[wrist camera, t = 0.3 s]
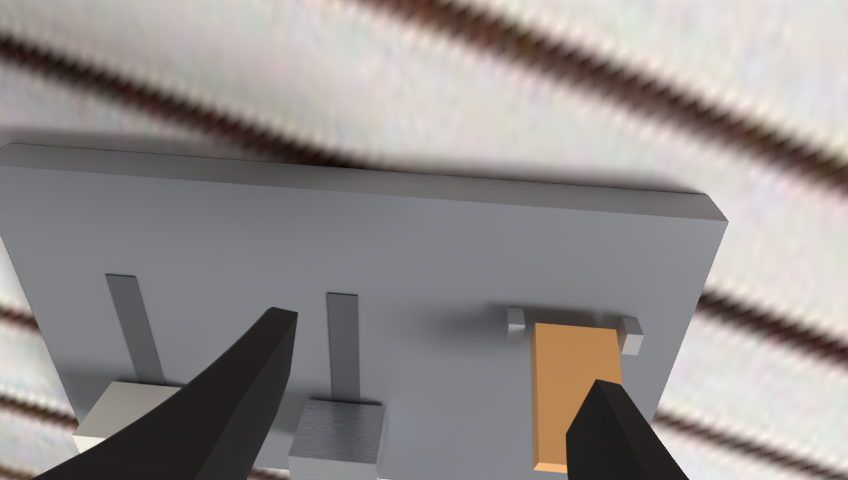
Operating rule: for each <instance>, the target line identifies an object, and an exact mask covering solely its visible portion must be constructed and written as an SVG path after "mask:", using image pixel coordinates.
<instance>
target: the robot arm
mask: <svg viewBox="0 0 848 480" xmlns="http://www.w3.org/2000/svg"><path fill="white" fill-rule="evenodd" d="M297 319H298V312H295V311H290V310H286V309H281V308H277V307H271V308H269V309H267V310H266V311H265V312H264V314H263V315H262V316H261V317H260V318H259V319H258V320H257V321H256V322H255V323H254V324H253V325H252V326H251V327H250V328H249V329H248V330H247V331H246V332H245V333H244V334H243V335H242V336H241V337H240V338H239V339H238V340H237V341H236V342H235V343H234V344H233V345H232V346H231V347H230V348H229V349H227V350H226V351H225V352H224V353H223V354H222V355H221V356H220V357H219V358H217V359H216V360H215V361H214V362H213V363H212V364H211V365H210V366H208V367H207V368H206V369H205V370H203V371H202V372H201V373H200V374H199V375H197V376H196V377H195V378H194V379H192V380H191V381H190V382H189V383H187V384H186V385H185V386H184V387H182V388H181V389H180V390H179V391H177V392H176V393H175V394H173V395H172V396H170V397H169V398H168V399H166V400H165V401H164V402H162V403H161V404H159V405H158V406H157V407H155V408H154V409H152V410H151V411H149V412H148V413H146V414H145V415H143V416H142V417H140V418H139V419H137V420H136V421H134V422H133V423H131V424H129V425H128V426H126V427H125V428H123V429H121V430H120V431H118V432H117V433H115V434H113V435H112V436H110V437H109V438H107V439H105V440H104V441H102V442H100V443H98V444H97V445H95V446H93V447H91V448H90V449H88V450H86V451H84V452H82V453H80V454H78V455H77V456H75V457H73V458H71V459H69V460H67V461H65V462H63V463H61V464H60V465H58V466H56V467H54V468H52V469H50V470H48V471H46V472H44V473H43V474H40V475H38V476H36V477H34V478H32V479H30V480H246V479H247V477H248V475H249V473H250V471H251V469H252V467H253V464H254V462H255V460H256V458H257V456H258V454H259V452H260V449H261V447H262V445H263V443H264V441H265V439H266V436H267V434H268V432H269V430H270V428H271V426H272V423H273V421H274V419H275V417H276V415H277V412H278V409H279V406H280V403H281V400H282V397H283V394H284V391H285V388H286V385H287V382H288V379H289V376H290V371H291V364H292V356H293V349H294V341H295V334H296V326H297ZM566 460H567V476H568V480H689V479H688V478H687V476H686V475H685V474H684V472H683V471H682V470H681V468H680V467H679V466H678V464H677V463H676V462H675V460H674V459H673V458H672V456H671V455H670V453H669V452H668V451H667V449H666V448H665V447H664V445H663V444H662V442H661V441H660V440H659V438H658V437H657V435H656V434H655V432H654V431H653V430H652V428H651V427H650V425H649V424H648V422H647V421H646V420H645V418H644V417H643V415H642V414H641V412H640V411H639V409H638V408H637V407H636V405H635V404H634V402H633V401H632V399H631V398H630V397H629V395H628V394H627V392H626V391H625V390H624V388H623V387H622V386H621V384H617V383H613V382H608V381H604V380H599V379H596V380H595V381H594V383H593V385H592V387H591V389H590V391H589V392H588V394H587V396H586V398H585V400H584V401H583V403H582V405H581V407H580V409H579V411H578V412H577V414H576V416H575V418H574V420H573V422H572V423H571V425H570V427H569V429H568V431H567V433H566Z"/></svg>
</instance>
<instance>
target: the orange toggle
mask: <svg viewBox="0 0 848 480" xmlns="http://www.w3.org/2000/svg"><path fill="white" fill-rule="evenodd" d="M530 345H531V401H532V457H533V470H539V471H549V472H560V473H567V460H566V433H567V431H568V429H569V427H570V425H571V423H572V422H573V420H574V418H575V416H576V414H577V412H578V411H579V409H580V407H581V405H582V403H583V401H584V400H585V398H586V396H587V394H588V392H589V391H590V389H591V387H592V385H593V383H594V381H595V380H596V379H599V380H604V381H608V382H613V383H617V384H621V386H622V378H621V369H620V359H619V350H618V341H617V332H616V330H614V329H602V328H591V327H579V326H567V325H555V324H543V323H535V326H534V328H533V331H532V333H531V335H530Z"/></svg>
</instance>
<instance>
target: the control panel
mask: <svg viewBox="0 0 848 480" xmlns="http://www.w3.org/2000/svg"><path fill="white" fill-rule="evenodd" d="M728 222H729V221H728V220H727V219H726V217H725V216H724V215H723V213H722V212H721V211H720V210H719V208H718V207H717V206H716V205H715V203H714V202H713V201H712V200H711V198H710V197H709V196H708V195H701V194H688V193H674V192H661V191H647V190H634V189H621V188H607V187H594V186H580V185H567V184H553V183H540V182H527V181H513V180H500V179H486V178H473V177H459V176H446V175H432V174H419V173H406V172H392V171H379V170H365V169H352V168H338V167H325V166H312V165H298V164H285V163H271V162H258V161H244V160H231V159H217V158H204V157H191V156H177V155H164V154H150V153H137V152H123V151H110V150H97V149H83V148H70V147H56V146H43V145H29V144H16V143H9V144H7V145H5V146H3V147H2V148H0V235H1V237H2V240H3V242H4V245H5V247H6V249H7V252H8V254H9V257H10V259H11V261H12V264H13V266H14V269H15V271H16V273H17V276H18V278H19V281H20V283H21V285H22V288H23V290H24V293H25V295H26V297H27V300H28V302H29V305H30V307H31V310H32V312H33V314H34V317H35V319H36V322H37V324H38V326H39V329H40V331H41V334H42V336H43V338H44V341H45V343H46V346H47V348H48V350H49V353H50V355H51V358H52V360H53V362H54V365H55V367H56V370H57V372H58V374H59V377H60V379H61V382H62V384H63V386H64V389H65V391H66V394H67V396H68V398H69V401H70V403H71V406H72V408H73V410H74V413H75V415H76V418H77V420H78V422H79V425H80V424H81V423H82V421H83V420H84V419H85V417H86V416H87V415H88V413H89V412H90V411H91V409H92V408H93V407H94V405H95V404H96V403H97V401H98V400H99V399H100V397H101V396H102V395H103V393H104V392H105V391H106V389H107V388H108V387H109V385H110V384H111V383H112V381H113V382H124V383H135V384H146V385H157V386H168V387H179V388H182V387H184V386H185V385H186V384H187V383H189V382H190V381H191V380H192V379H194V378H195V377H196V376H197V375H199V374H200V373H201V372H202V371H203V370H205V369H206V368H207V367H208V366H210V365H211V364H212V363H213V362H214V361H215V360H216V359H217V358H219V357H220V356H221V355H222V354H223V353H224V352H225V351H226V350H227V349H229V348H230V347H231V346H232V345H233V344H234V343H235V342H236V341H237V340H238V339H239V338H240V337H241V336H242V335H243V334H244V333H245V332H246V331H247V330H248V329H249V328H250V327H251V326H252V325H253V324H254V323H255V322H256V321H257V320H258V319H259V318H260V317H261V316H262V315H263V314H264V312H265V311H266V310H267V309H269V308H271V307H277V308H281V309H286V310H290V311H295V312H298V319H297V326H296V334H295V341H294V349H293V356H292V364H291V371H290V376H289V379H288V382H287V385H286V388H285V391H284V394H283V397H282V400H281V403H280V406H279V409H278V412H277V415H276V417H275V419H274V421H273V423H272V426H271V428H270V430H269V432H268V434H267V436H266V439H265V441H264V443H263V445H262V447H261V449H260V452H259V454H258V456H257V458H256V460H255V462H254V464H253V466H256V467H267V468H277V469H287V470H290V469H289V461H288V454H289V451H290V448H291V445H292V442H293V439H294V436H295V433H296V430H297V427H298V424H299V421H300V418H301V415H302V412H303V409H304V406H305V403H306V400H307V399H309V400H320V401H331V402H342V403H353V404H364V405H375V406H385V407H386V449H385V456H384V462H383V469H382V475H381V479H390V480H568V476H567V473H560V472H549V471H539V470H533V457H532V401H531V345H530V335H531V333H532V331H533V328H534V326H535V323H543V324H555V325H567V326H579V327H591V328H602V329H614V330H616V332H617V341H618V350H619V359H620V369H621V378H622V387H623V388H624V390H625V391H626V392H627V394H628V395H629V397H630V398H631V399H632V401H633V402H634V404H635V405H636V407H637V408H638V409H639V411H640V412H641V414H642V415H643V417H644V418H645V420H646V421H647V422H648V424H649V425H650V424H651V422H652V419H653V417H654V414H655V411H656V409H657V406H658V404H659V401H660V398H661V396H662V393H663V391H664V388H665V385H666V383H667V380H668V378H669V375H670V372H671V370H672V367H673V365H674V362H675V360H676V357H677V354H678V352H679V349H680V347H681V344H682V341H683V339H684V336H685V334H686V331H687V328H688V326H689V323H690V321H691V318H692V315H693V313H694V310H695V308H696V305H697V303H698V300H699V297H700V295H701V292H702V290H703V287H704V284H705V282H706V279H707V277H708V274H709V271H710V269H711V266H712V264H713V261H714V258H715V256H716V253H717V251H718V248H719V245H720V243H721V240H722V238H723V235H724V233H725V230H726V227H727V225H728Z"/></svg>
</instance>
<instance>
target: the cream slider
mask: <svg viewBox="0 0 848 480" xmlns="http://www.w3.org/2000/svg"><path fill="white" fill-rule="evenodd" d="M180 389H181V388H179V387H168V386H157V385H146V384H135V383H124V382H113V381H112V383H111V384H110V385H109V387H108V388H107V389H106V391H105V392H104V393H103V395H102V396H101V397H100V399H99V400H98V401H97V403H96V404H95V405H94V407H93V408H92V409H91V411H90V412H89V413H88V415H87V416H86V417H85V419H84V420H83V421H82V423H81V424H80V425H79V427H78V428H77V429H76V431H75V432H74V433H73V435H72V436H73V439H74V441H75V443H76V446H77V448H78V450H79V453H82V452H84V451H86V450H88V449H90V448H91V447H93V446H95V445H97V444H98V443H100V442H102V441H104V440H105V439H107V438H109V437H110V436H112V435H113V434H115V433H117V432H118V431H120V430H121V429H123V428H125V427H126V426H128V425H129V424H131V423H133V422H134V421H136V420H137V419H139V418H140V417H142V416H143V415H145V414H146V413H148V412H149V411H151V410H152V409H154V408H155V407H157V406H158V405H159V404H161V403H162V402H164V401H165V400H166V399H168V398H169V397H170V396H172V395H173V394H175V393H176V392H177V391H179V390H180Z"/></svg>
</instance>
